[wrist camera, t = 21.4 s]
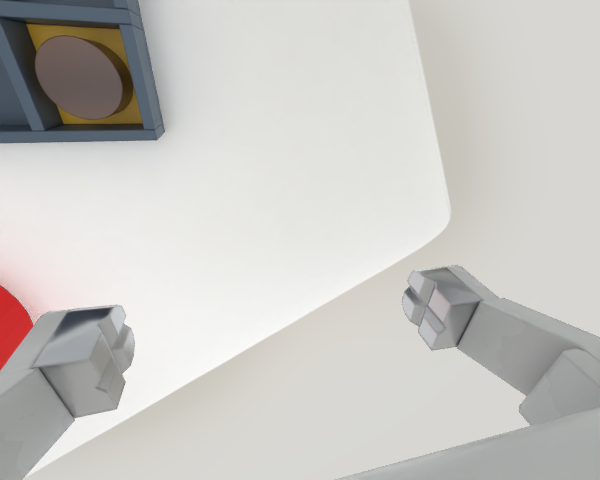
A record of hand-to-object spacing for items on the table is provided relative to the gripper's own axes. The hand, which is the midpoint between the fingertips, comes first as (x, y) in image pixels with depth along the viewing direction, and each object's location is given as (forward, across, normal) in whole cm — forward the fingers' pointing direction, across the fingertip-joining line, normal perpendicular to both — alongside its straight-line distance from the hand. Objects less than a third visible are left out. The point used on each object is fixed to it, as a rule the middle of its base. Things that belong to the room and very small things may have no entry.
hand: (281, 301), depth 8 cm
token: (+22, +11, -4) cm, 25 cm away
